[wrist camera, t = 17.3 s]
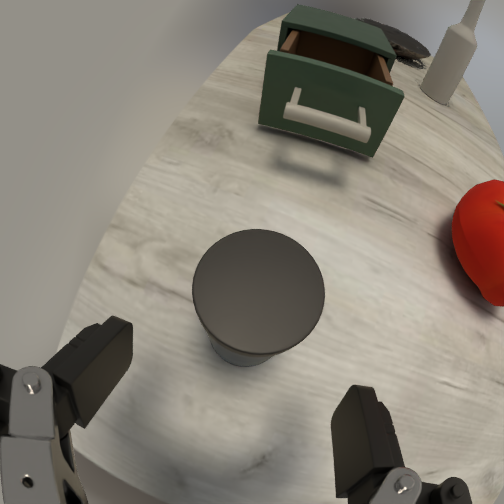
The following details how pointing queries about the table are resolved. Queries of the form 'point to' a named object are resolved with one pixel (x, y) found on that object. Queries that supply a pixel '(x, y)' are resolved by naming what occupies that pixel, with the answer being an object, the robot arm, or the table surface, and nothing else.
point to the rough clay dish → (400, 41)
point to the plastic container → (257, 295)
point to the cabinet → (337, 30)
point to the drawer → (329, 92)
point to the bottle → (453, 56)
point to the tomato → (482, 238)
